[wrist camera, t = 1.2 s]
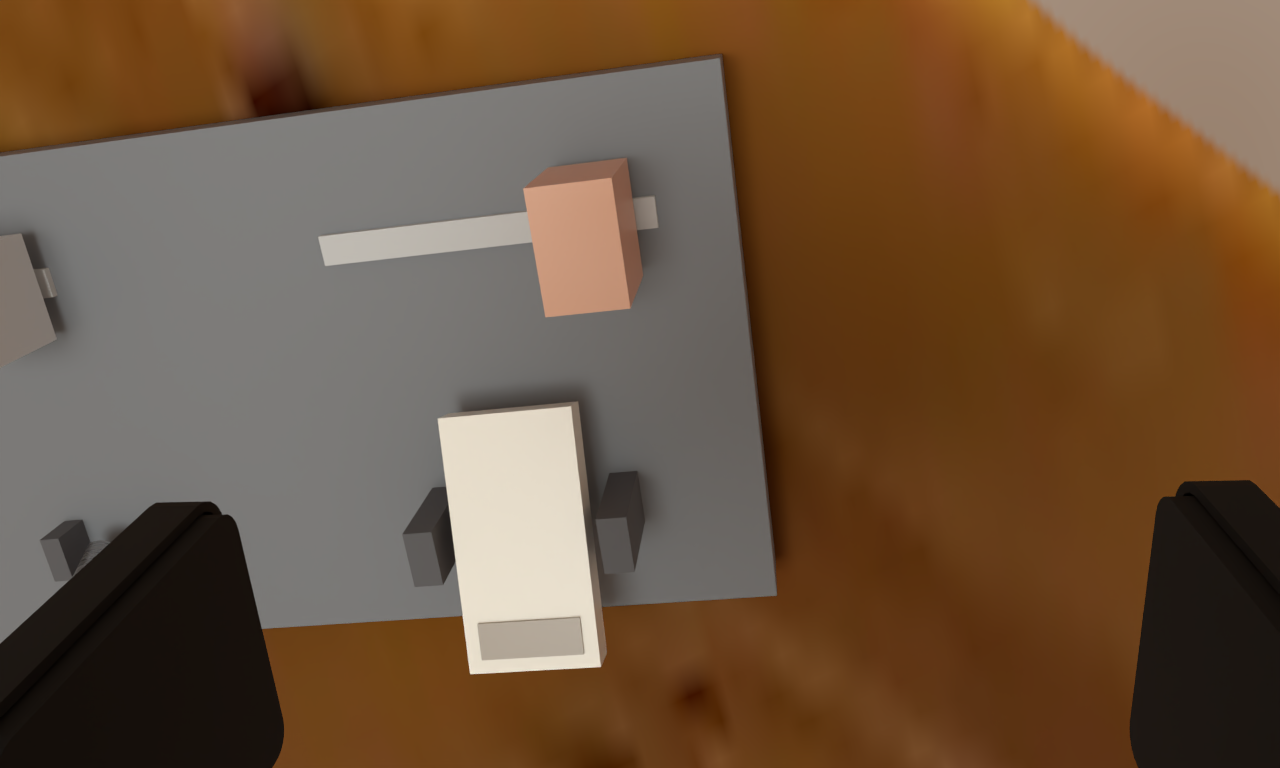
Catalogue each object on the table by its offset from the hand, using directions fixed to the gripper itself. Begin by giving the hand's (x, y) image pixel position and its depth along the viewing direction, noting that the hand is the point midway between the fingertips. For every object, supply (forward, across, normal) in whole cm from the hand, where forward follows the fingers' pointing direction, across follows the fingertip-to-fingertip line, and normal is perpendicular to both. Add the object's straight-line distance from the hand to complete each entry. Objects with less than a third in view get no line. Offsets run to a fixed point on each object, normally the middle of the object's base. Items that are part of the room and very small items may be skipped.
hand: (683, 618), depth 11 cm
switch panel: (+20, +12, +4) cm, 23 cm away
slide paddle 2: (+17, +3, 0) cm, 17 cm away
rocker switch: (+15, +6, +8) cm, 18 cm away
